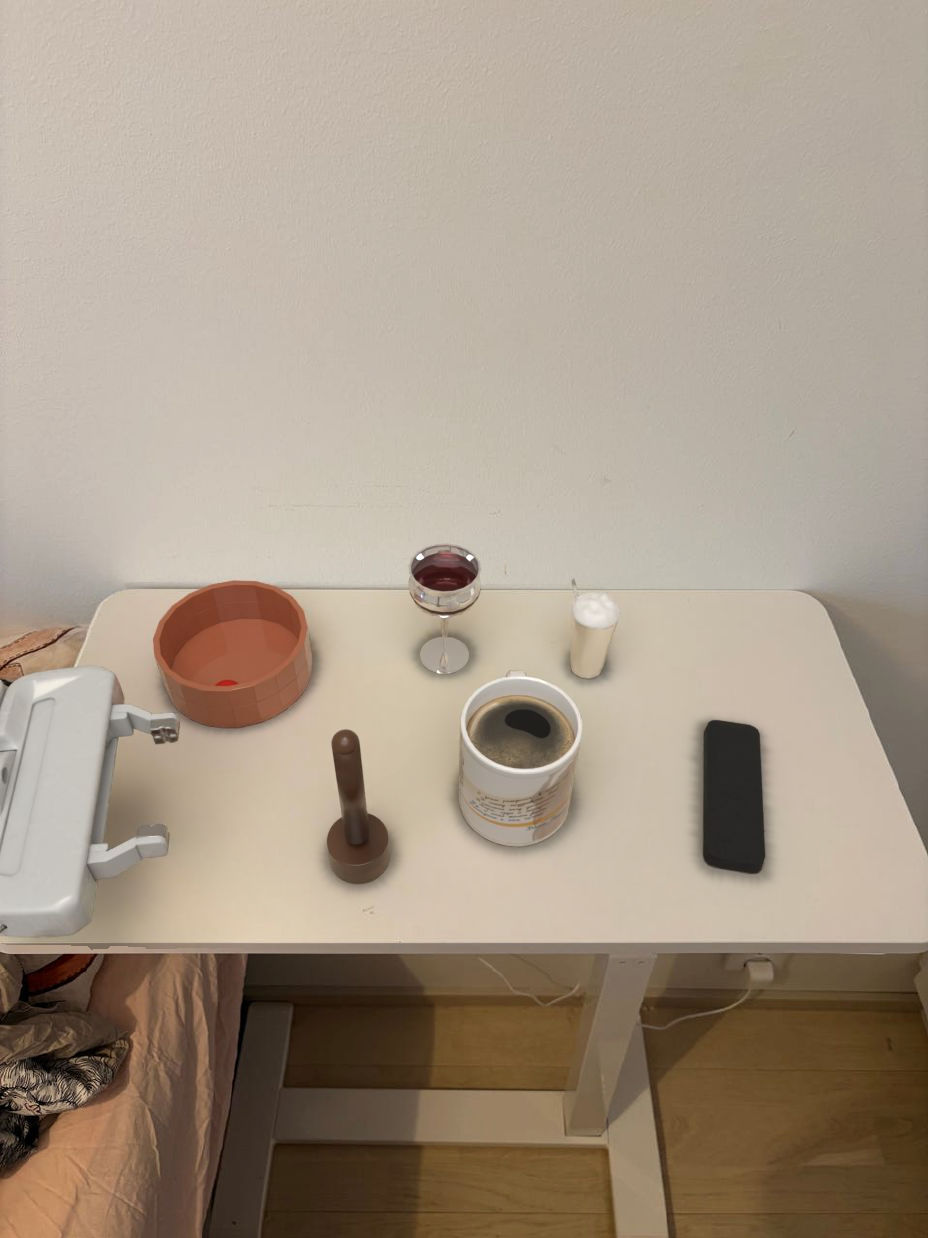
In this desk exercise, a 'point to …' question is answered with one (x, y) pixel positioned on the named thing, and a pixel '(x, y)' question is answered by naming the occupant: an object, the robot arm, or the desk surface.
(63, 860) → the robot arm
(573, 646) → the milkshake
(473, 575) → the wineglass
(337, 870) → the brown plunger
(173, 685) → the bowl
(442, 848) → the desk surface
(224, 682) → the tomato
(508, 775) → the mug
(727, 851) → the remote control
